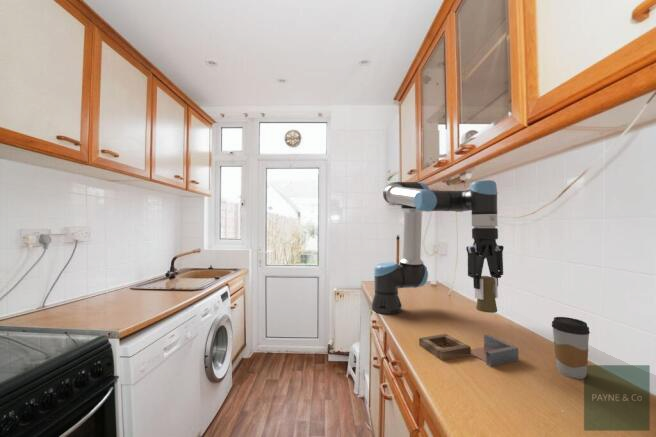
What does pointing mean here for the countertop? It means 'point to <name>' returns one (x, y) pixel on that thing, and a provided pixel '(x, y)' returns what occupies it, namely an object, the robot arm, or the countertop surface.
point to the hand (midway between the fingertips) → (486, 297)
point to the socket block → (446, 353)
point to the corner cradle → (496, 352)
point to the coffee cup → (571, 346)
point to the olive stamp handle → (487, 296)
